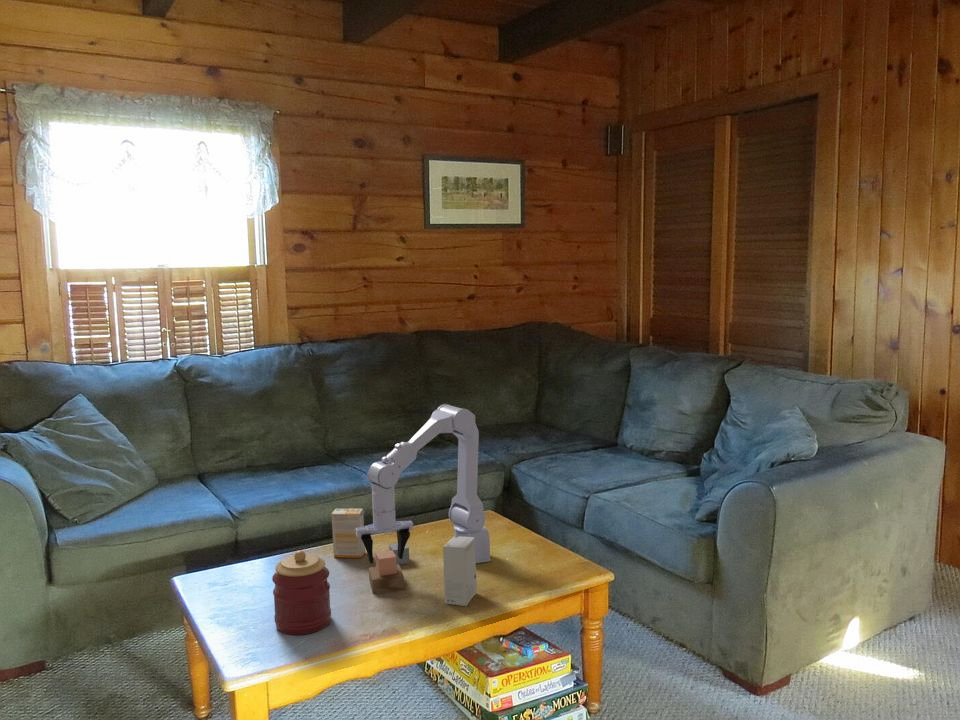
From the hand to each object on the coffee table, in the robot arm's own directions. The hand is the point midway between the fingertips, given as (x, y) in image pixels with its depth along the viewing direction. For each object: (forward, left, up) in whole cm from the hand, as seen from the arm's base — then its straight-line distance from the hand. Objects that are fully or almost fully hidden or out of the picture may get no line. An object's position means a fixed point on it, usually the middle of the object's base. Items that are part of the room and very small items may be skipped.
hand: (385, 559), depth 208 cm
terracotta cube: (0, 0, -3) cm, 3 cm away
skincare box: (-15, +15, -7) cm, 22 cm away
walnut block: (0, 0, -7) cm, 7 cm away
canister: (+23, +13, -7) cm, 27 cm away
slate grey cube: (-7, -14, -7) cm, 17 cm away
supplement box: (+5, -24, -7) cm, 26 cm away
